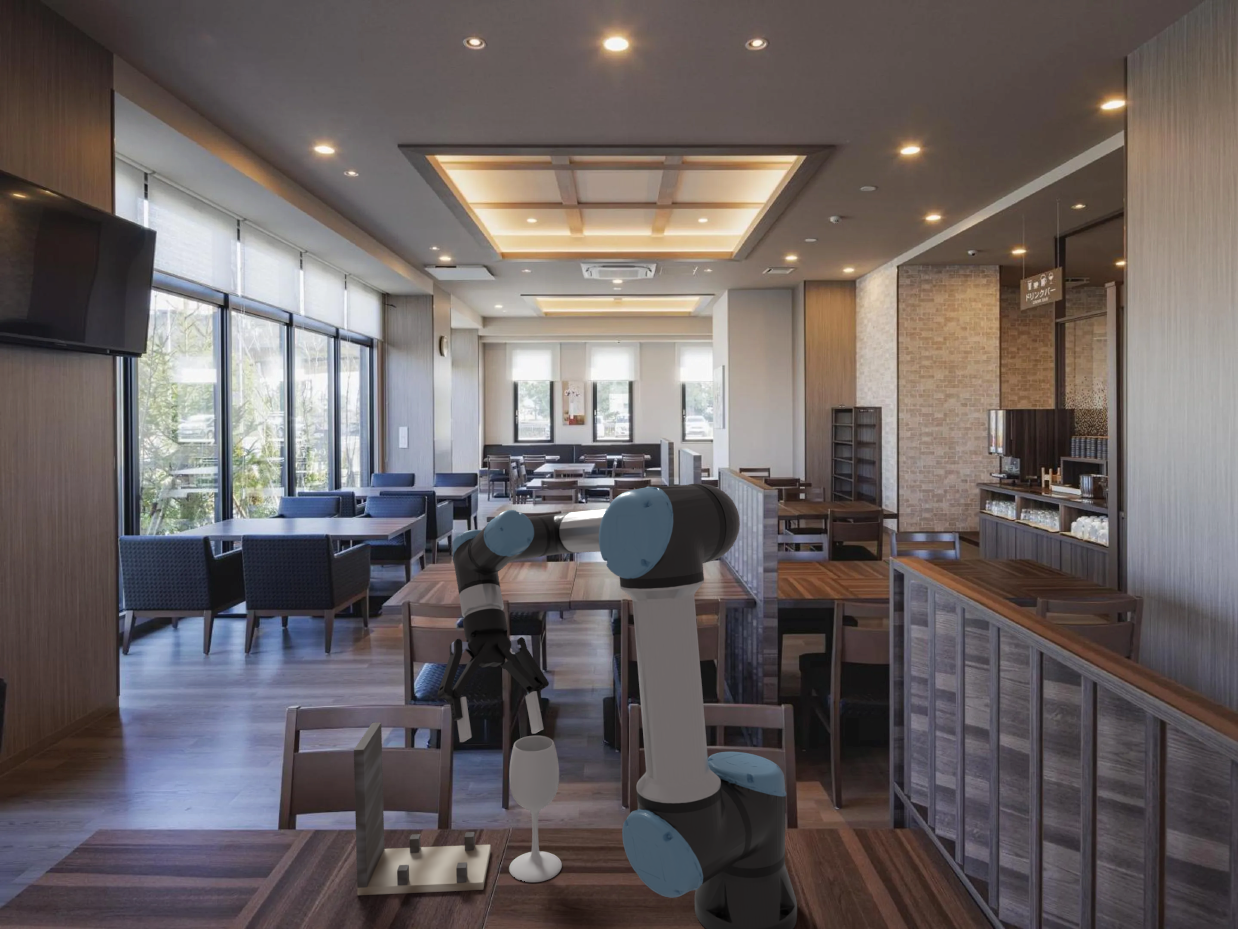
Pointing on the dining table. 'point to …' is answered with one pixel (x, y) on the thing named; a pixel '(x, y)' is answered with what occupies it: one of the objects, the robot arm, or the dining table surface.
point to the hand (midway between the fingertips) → (502, 735)
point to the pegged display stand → (416, 863)
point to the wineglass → (534, 801)
